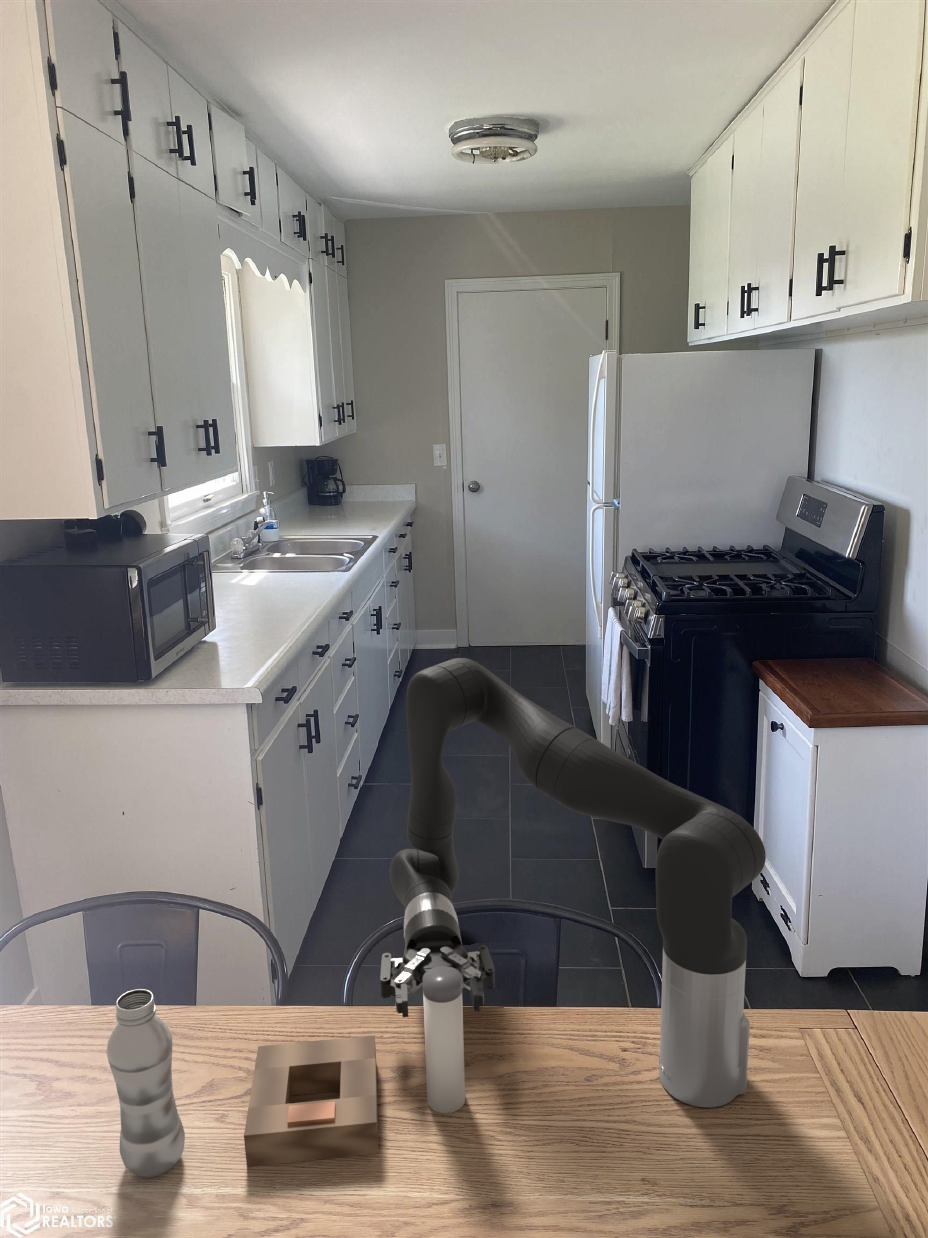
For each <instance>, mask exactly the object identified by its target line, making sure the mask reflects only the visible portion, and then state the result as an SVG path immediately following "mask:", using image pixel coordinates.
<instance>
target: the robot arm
mask: <svg viewBox="0 0 928 1238" xmlns="http://www.w3.org/2000/svg"><path fill="white" fill-rule="evenodd" d="M405 698H406V699H405V709H406V710H405V713H406V726H407V743H408V744H407V746H408V755H409V766H410V793H409V794H410V795H409V797H410V798H409V803H408V804H409V805H408V811H407V812H408V813H407V822H406V838H407V841H408V842H409V844H410V845H411V846H412V847H414V848H404V849H402V850H399V851H398V852H396V854H395V855H394V856H393V858H392V859H391V862H390V864H389V881H390V884H391V887H392V891H393V892H394V893H395V895H396V897H397V899H398V900H399V901H400V903H401V905H402V906H403V910H404V911H403V912H404V919H403V932H404V933H403V938H404V946H405V947H404V949H405V953H404V955H403V956H402V957H396V958H395V957H393V958H392V954H391V953H390V952H384V953H382V955H381V962H380V963H381V964H380V978H379V981H380V997H381V998H384V999H387V998H390V997H391V996H392V997H394V998H395V1005H396V1007H395V1009H396V1010H395V1011H396V1012H397V1014H402V1018H408V1017H409V1001H408V1000H409V999H408V996H409V995H411V993H413V994H415V993H416V992H417V991H418V990H419V989H420V988H421V987H423V975H424V974H425V972H427V971H428V970H429V969H432V968H434V967H439V966H448V967H452V968H455V969H456V970H458V971H459V972H460V973H461V976H462V990H463V989H464V988H465V989H467V990H469V992H470V998H471V1003H472V1010H473V1012H479V1011H481V1009H480V1007H484V1005H485V991H484V989H485V988H486V989H488V990H493V989H495V987H496V982H495V973H496V968H495V966H494V963H493V959H492V957H491V956H492V955H491V953H490V951H489V948H488V945H485V944H482V945H478V948H477V949H478V950H477V951H469V952H467V950H466V949H465V948H464V947H463V942H462V937H461V930H460V926H459V925H460V924H459V920H458V915H457V912H456V910H455V908H454V907H455V906H454V901H453V896H452V894H453V893H454V892H455V890H456V889H457V887H458V885H459V881H460V870H459V865H458V859H457V857H456V852H455V847H454V846H455V845H454V832H455V822H456V817H457V816H456V815H457V810H458V809H457V807H458V795H457V789H456V786H455V783H454V781H453V779H452V777H451V775H450V773H449V771H448V770H447V768H446V766H445V763H444V759H443V755H444V754H443V753H444V752H443V751H444V747H445V744H446V739H447V736H448V733H449V732H451V731H454V730H456V729H458V728H461V727H462V726H466V725H467V724H470V723H478V724H481V725H483V726H485V727H487V728H489V729H491V730H492V731H494V732H495V733H497V734H499V735H500V736H501V737H502V738H504V739H505V741H507V743H508V744H509V746H510V749H511V750H512V753H513V755H514V758H515V761H516V763H517V765H518V768H519V770H520V772H521V773H522V775H523V776H524V778H525V779H526V780H527V782H529V784H531V785H532V786H533V787H535V788H536V789H537V790H538V791H540V792H542V793H543V794H545V795H546V796H547V797H548V798H550V799H552V800H554V801H555V802H557V803H558V804H560V805H561V806H563V807H564V808H567V809H568V810H570V811H572V812H575V813H578V814H581V815H585V816H588V817H590V818H591V817H592V818H596V819H599V820H605V821H609V822H614V823H617V824H618V823H619V824H623V825H627V826H632V827H635V828H638V829H641V830H643V831H644V832H645V831H646V832H648V833H650V834H652V835H654V836H656V837H658V838H659V839H660V840H661V842H660V844H659V846H658V850H657V855H656V860H655V894H656V895H655V898H656V899H655V901H656V902H655V903H656V920H657V924H658V928H659V931H660V933H661V936H662V939H663V941H662V942H663V943H662V966H661V967H662V970H661V972H662V974H661V975H662V976H661V977H662V978H661V1002H660V1003H661V1005H660V1006H661V1007H660V1008H661V1009H660V1012H661V1013H660V1035H659V1036H660V1040H659V1041H660V1042H659V1050H660V1051H659V1062H658V1063H659V1079H660V1083H661V1085H662V1086H663V1088H664V1089H665V1090H666V1091H667V1092H668V1094H670V1095H671V1096H672V1097H673V1098H675V1099H676V1100H678V1101H680V1102H682V1103H684V1104H687V1105H689V1106H693V1107H699V1108H709V1109H710V1108H718V1107H721V1106H724V1105H727V1104H728V1103H731V1102H732V1101H733V1100H734V1099H735V1098H736V1097H737V1096H741V1095H746V1094H747V1086H748V1085H747V1083H748V1082H747V1081H748V1067H749V1066H748V1065H749V1064H748V1063H749V1050H750V1049H749V1048H750V1028H751V1027H750V1026H751V1023H750V1020H749V1019H748V1017H747V1015H746V1014H745V1012H744V1010H745V1009H744V1007H745V1005H744V1004H745V987H746V986H745V985H746V984H745V983H746V968H747V967H746V966H747V955H748V954H747V952H748V949H747V948H748V938H747V934H746V930H745V929H744V928H743V927H742V925H741V924H740V923H739V922H738V921H736V920H735V919H734V918H732V910H733V909H732V907H733V897H735V896H736V895H737V894H739V893H740V892H741V891H742V890H743V889H745V888H747V886H748V885H750V884H751V883H753V881H755V880H756V878H757V877H758V876H759V875H760V874H761V873H762V871H763V869H764V868H765V864H766V858H767V856H766V855H767V854H766V849H765V846H764V842H763V840H762V839H761V836H760V835H759V833H758V832H757V830H756V829H755V827H753V826H752V825H751V823H750V822H748V821H747V820H746V819H744V818H743V817H742V816H741V815H739V814H737V813H735V811H733V810H730V809H729V808H727V807H725V806H723V805H721V804H719V803H716V802H714V801H711V800H709V799H707V798H705V797H703V796H701V795H698V794H696V793H694V792H693V791H689V790H687V789H686V788H682V787H681V786H678V785H676V784H674V783H672V782H670V781H668V780H667V779H665V778H663V777H661V776H659V775H657V774H656V773H654V772H653V771H651V770H649V769H648V768H646V767H644V766H642V765H640V764H638V763H636V762H635V761H633V760H631V759H629V758H627V757H626V756H624V755H623V754H620V753H618V752H617V751H615V750H613V749H612V748H610V747H609V746H607V745H606V744H604V743H603V742H602V741H600V740H598V739H596V738H595V737H593V736H591V735H590V734H588V733H586V732H584V731H583V730H581V729H579V728H578V727H576V726H574V725H572V724H570V723H568V722H567V721H564V720H563V719H560V718H559V717H557V716H556V715H555V714H553V713H551V712H550V711H548V710H546V709H545V708H543V707H542V706H540V705H538V704H536V703H535V702H533V701H532V700H530V699H529V698H526V697H525V696H524V695H522V694H521V693H520V692H518V691H517V690H515V689H514V688H513V687H512V686H510V685H508V684H507V683H506V682H505V681H503V680H502V679H500V678H499V677H498V676H497V675H496V674H494V673H493V672H492V671H490V670H488V669H487V668H486V667H484V666H483V665H481V664H480V663H478V662H477V661H475V660H472V659H469V658H466V657H457V658H452V659H449V660H446V661H444V662H440V663H438V664H435V665H431V666H429V667H426V668H424V669H422V670H420V671H418V672H416V673H415V674H414V675H413V676H412V677H411V678H410V680H409V682H408V685H407V689H406V696H405ZM471 964H472V965H473V966H472V965H471ZM475 967H476V968H475ZM401 969H402V970H403V971H402V972H401V973H400V974H399V975H397V977H396V974H397V973H398V971H399V970H401ZM393 978H394V979H393Z"/></svg>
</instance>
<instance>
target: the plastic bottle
mask: <svg viewBox="0 0 928 1238" xmlns="http://www.w3.org/2000/svg"><path fill="white" fill-rule="evenodd" d="M115 1008H116V1013H115V1019H116V1022H117V1024H116V1026H115V1027H114V1028H113V1030H112V1032H111V1034H110V1035H109V1037H108V1040H107V1046H106V1050H105V1051H106V1052H105V1053H106V1056H107V1057H106V1058H107V1061H108V1064H109V1068H110V1070H111V1073H112V1076H113V1079H114V1082H115V1086H116V1091H117V1096H118V1101H119V1107H120V1108H119V1111H120V1113H119V1114H120V1134H119V1154H120V1157H121V1159H122V1163H123V1165H124V1168H125V1169H126V1170H127V1171H128V1172H130V1173H132V1174H133V1175H134V1176H136V1177H139V1178H154V1177H158V1176H159V1175H160V1176H161V1175H163V1174H165V1173H167V1172H168V1171H170V1170H171V1169H172V1168H173V1167H174V1166H176V1164H177V1162H178V1161H179V1160H180V1158H182V1154H183V1152H184V1149H185V1140H186V1139H185V1137H186V1135H185V1134H186V1133H185V1130H184V1129H185V1128H184V1126H183V1125H184V1124H183V1122H182V1119H181V1117H180V1114H179V1112H178V1107H177V1104H176V1098H175V1094H174V1088H173V1074H172V1067H173V1066H172V1063H173V1034H172V1032H171V1030H170V1028H169V1026H168V1025H167V1023H166V1022H165V1021H164V1020H163V1019H161V1018H160V1017H159V1016H157V1014H156V1013H157V1006H156V1004H155V996H154V994H153V992H152V991H151V990H148V989H145V988H136V989H132V990H129V991H126V992H124V993H123V994H121V995H120V996H119V997H118V998H117V1000H116V1002H115Z"/></svg>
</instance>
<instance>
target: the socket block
mask: <svg viewBox="0 0 928 1238" xmlns="http://www.w3.org/2000/svg"><path fill="white" fill-rule="evenodd" d="M376 1050H377V1049H376V1035H366V1036H356V1037H355V1036H354V1037H345V1038H332V1039H323V1040H322V1039H321V1040H313V1041H312V1040H311V1041H303V1042H302V1041H300V1042H290V1043H278V1044H270V1045H269V1044H268V1045H267V1044H266V1045H260V1046H259V1045H258V1046H257V1051H256V1058H255V1063H254V1064H255V1065H254V1070H253V1075H252V1082H251V1083H252V1084H251V1090H250V1096H249V1101H248V1107H247V1113H246V1118H245V1119H246V1121H245V1127H244V1134H243V1138H244V1140H243V1141H244V1150H245V1153H244V1154H245V1162H246V1163H245V1164H246V1168H251V1167H261V1166H271V1165H279V1164H280V1165H281V1164H290V1163H300V1162H308V1161H318V1160H320V1161H321V1160H329V1159H337V1158H347V1157H348V1158H349V1157H355V1156H356V1157H357V1156H365V1155H366V1156H369V1155H376V1154H379V1127H378V1125H379V1124H378V1123H379V1120H378V1118H379V1117H378V1076H377V1075H378V1074H377V1071H378V1070H377V1051H376ZM338 1091H339V1098H334V1099H333V1098H332V1099H324V1100H313V1101H303V1102H294V1103H292V1096H298V1095H299V1096H300V1095H310V1094H318V1093H319V1094H320V1093H329V1092H331V1093H332V1092H338Z"/></svg>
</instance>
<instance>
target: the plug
mask: <svg viewBox="0 0 928 1238" xmlns="http://www.w3.org/2000/svg"><path fill="white" fill-rule="evenodd" d="M422 998H423V1021H424V1022H423V1023H424V1024H423V1025H424V1026H423V1027H424V1046H425V1048H424V1049H425V1051H424V1052H425V1070H426V1071H425V1072H426V1074H425V1075H426V1096H427V1097H426V1100H427V1104H428V1107H429V1108H430V1109H432V1110H433V1111H435V1112H437V1113H439V1114H440V1113H441V1114H451V1113H454V1112H457V1111H458V1110H460V1109H461V1108H462V1107H463V1106H464V1104H465V1102H466V1088H465V1087H466V1085H465V1082H466V1081H465V1050H464V1049H465V1048H464V1045H465V1044H464V1017H463V1015H464V1013H463V1012H464V1011H463V1010H464V1009H463V1008H464V1007H463V989H462V976H461V973H460V972H459V971H458V970H456V969H455V968H452V967H448V966H439V967H434V968H432V969H429V970H428V971H427V972H425V974H424V975H423V985H422Z"/></svg>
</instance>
